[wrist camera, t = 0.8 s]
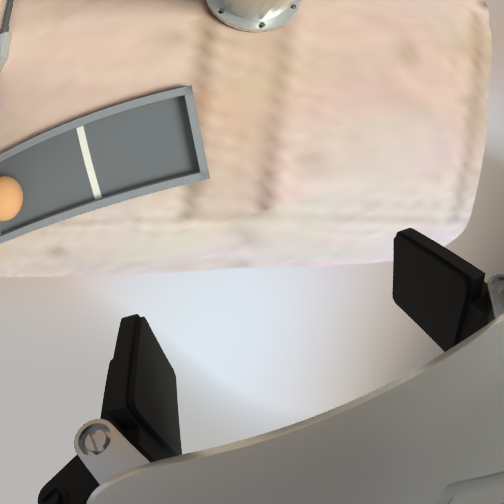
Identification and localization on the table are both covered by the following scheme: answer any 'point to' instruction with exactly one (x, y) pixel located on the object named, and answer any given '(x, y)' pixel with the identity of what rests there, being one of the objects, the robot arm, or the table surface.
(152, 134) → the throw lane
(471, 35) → the table surface
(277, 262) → the table surface
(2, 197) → the ball
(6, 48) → the walkie-talkie
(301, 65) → the table surface
